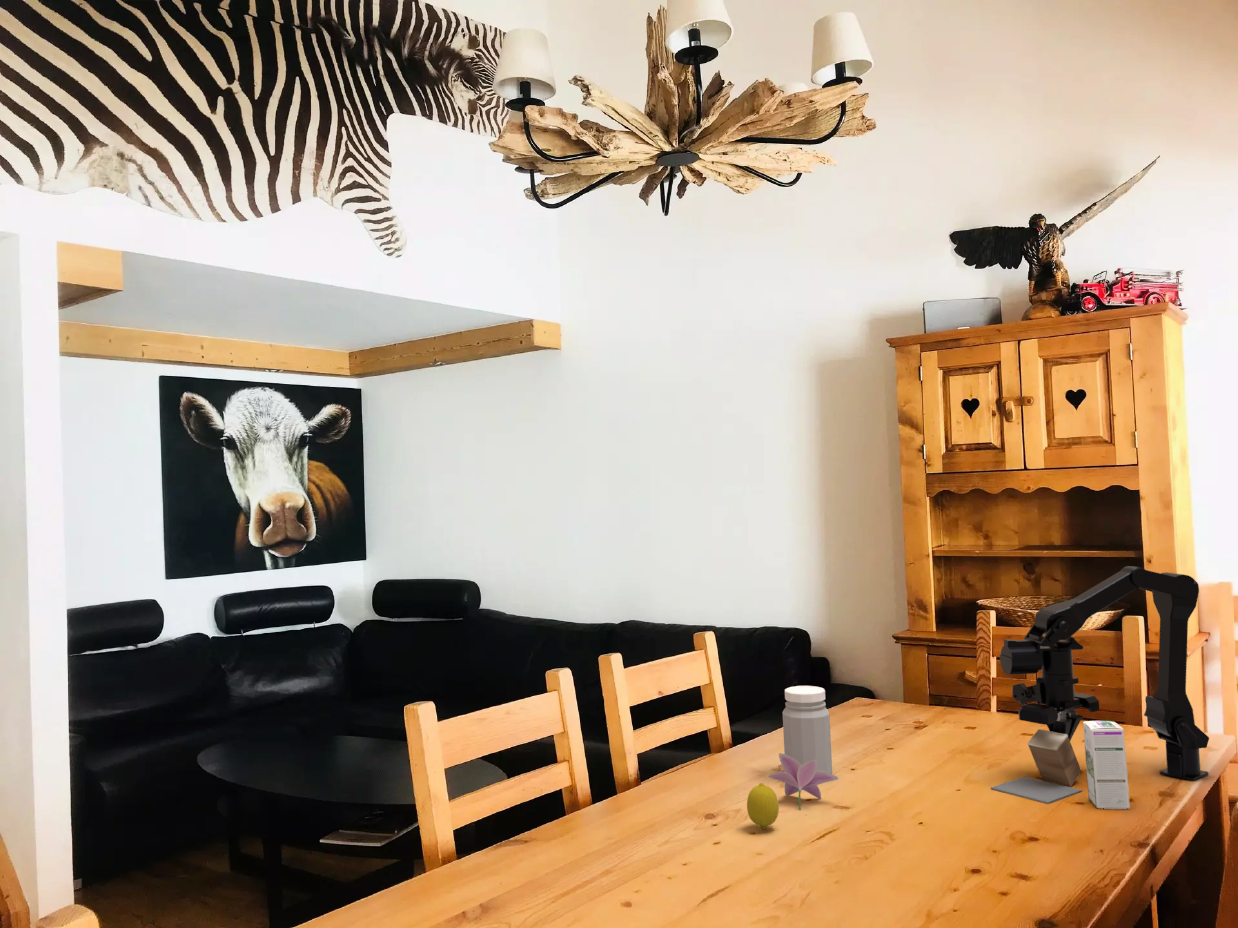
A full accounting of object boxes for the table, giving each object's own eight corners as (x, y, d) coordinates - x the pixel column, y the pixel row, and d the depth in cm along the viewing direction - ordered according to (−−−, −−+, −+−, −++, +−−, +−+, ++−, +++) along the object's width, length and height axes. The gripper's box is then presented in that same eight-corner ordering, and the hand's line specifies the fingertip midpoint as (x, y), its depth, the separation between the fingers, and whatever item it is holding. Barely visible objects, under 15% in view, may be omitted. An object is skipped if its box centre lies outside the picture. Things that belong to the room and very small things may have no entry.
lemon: (782, 824, 171) (779, 779, 172) (776, 835, 166) (774, 788, 167) (751, 822, 173) (749, 777, 174) (745, 833, 168) (743, 786, 168)
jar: (780, 781, 197) (776, 693, 197) (790, 768, 206) (786, 683, 206) (828, 785, 193) (824, 695, 194) (836, 771, 202) (832, 685, 203)
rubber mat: (1024, 777, 193) (1024, 776, 193) (1081, 791, 183) (1081, 789, 183) (990, 788, 187) (990, 787, 187) (1048, 803, 177) (1048, 802, 177)
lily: (847, 812, 180) (843, 760, 185) (809, 801, 173) (805, 747, 178) (796, 820, 187) (792, 770, 192) (757, 810, 181) (755, 758, 186)
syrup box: (1131, 809, 172) (1126, 727, 172) (1095, 808, 173) (1090, 727, 173) (1121, 799, 177) (1116, 720, 178) (1086, 798, 178) (1082, 719, 179)
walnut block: (1053, 765, 193) (1038, 728, 191) (1081, 771, 188) (1067, 734, 186) (1042, 779, 191) (1027, 742, 189) (1070, 786, 186) (1056, 748, 184)
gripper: (1047, 661, 202) (1051, 736, 202) (992, 673, 192) (996, 752, 192) (1098, 668, 193) (1103, 746, 193) (1044, 681, 183) (1048, 764, 182)
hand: (1061, 751), depth 190 cm, fingers closed
